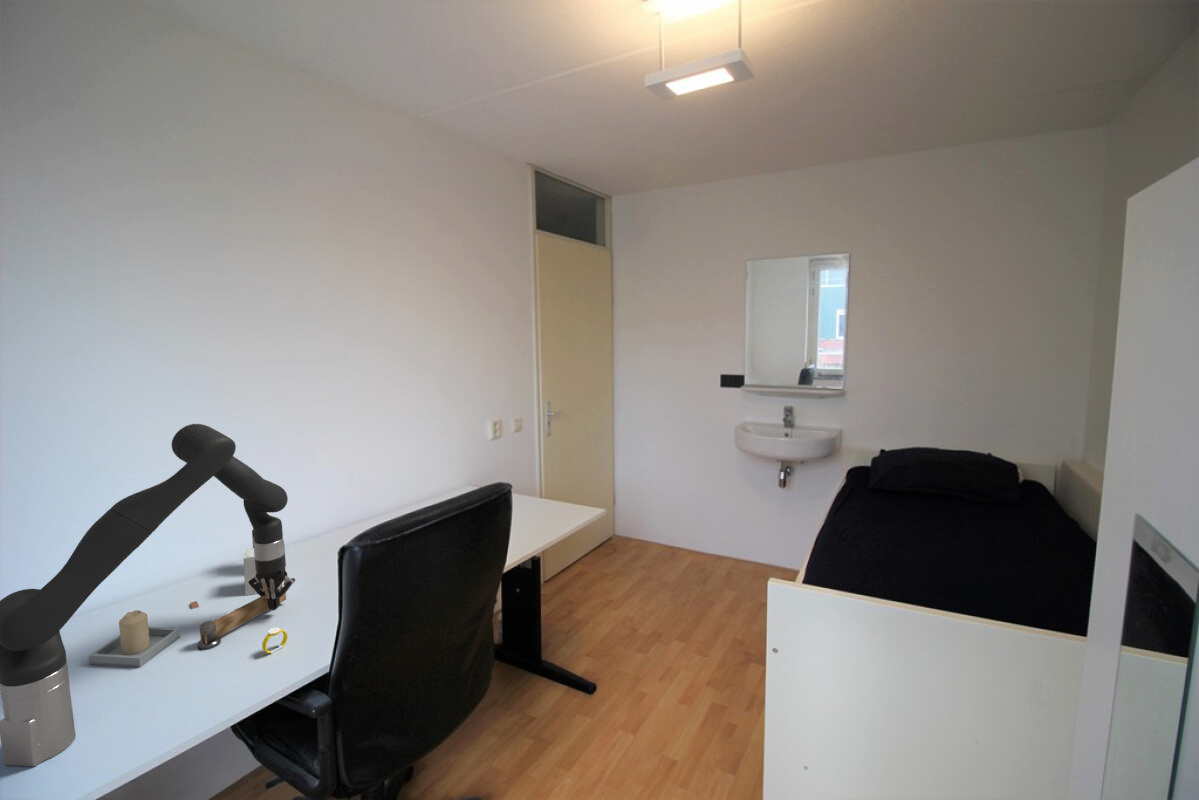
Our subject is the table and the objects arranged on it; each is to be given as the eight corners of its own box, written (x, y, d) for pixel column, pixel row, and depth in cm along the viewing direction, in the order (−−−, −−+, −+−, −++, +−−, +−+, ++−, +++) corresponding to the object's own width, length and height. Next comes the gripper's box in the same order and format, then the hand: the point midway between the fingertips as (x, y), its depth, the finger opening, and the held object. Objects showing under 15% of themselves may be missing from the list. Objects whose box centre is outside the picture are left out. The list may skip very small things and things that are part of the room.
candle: (133, 657, 135) (129, 620, 134) (116, 652, 136) (112, 617, 135) (155, 644, 141) (152, 609, 139) (138, 640, 142) (135, 605, 140)
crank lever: (207, 644, 140) (205, 623, 139) (198, 641, 141) (197, 620, 140) (287, 600, 163) (286, 582, 162) (279, 597, 164) (278, 579, 163)
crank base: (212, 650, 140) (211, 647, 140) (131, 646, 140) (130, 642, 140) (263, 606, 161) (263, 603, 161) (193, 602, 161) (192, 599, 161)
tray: (140, 667, 132) (139, 658, 132) (90, 664, 133) (89, 655, 132) (180, 637, 145) (179, 628, 145) (134, 634, 145) (133, 626, 145)
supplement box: (272, 591, 170) (270, 554, 168) (244, 596, 166) (242, 558, 164) (274, 580, 176) (273, 545, 174) (248, 584, 173) (246, 548, 171)
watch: (267, 658, 139) (265, 638, 137) (261, 655, 140) (258, 635, 139) (290, 645, 144) (287, 626, 142) (284, 642, 145) (281, 622, 144)
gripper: (300, 548, 157) (303, 602, 160) (255, 547, 157) (260, 600, 160) (284, 560, 150) (288, 617, 153) (238, 558, 150) (243, 615, 153)
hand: (274, 608), depth 157 cm, fingers closed
